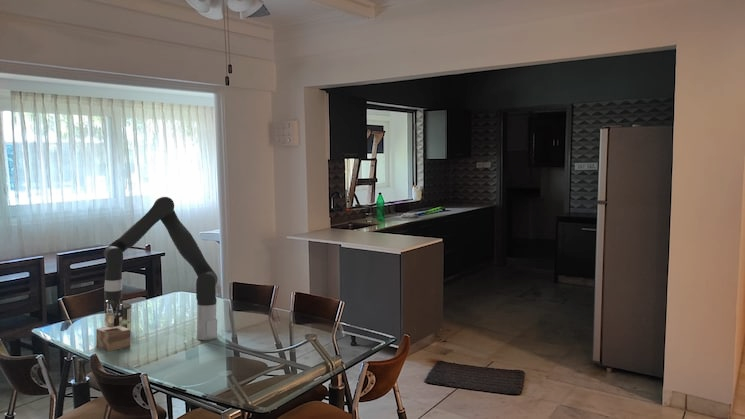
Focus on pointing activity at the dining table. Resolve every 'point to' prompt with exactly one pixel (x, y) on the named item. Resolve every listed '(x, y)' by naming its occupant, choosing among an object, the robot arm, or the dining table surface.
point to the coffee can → (126, 315)
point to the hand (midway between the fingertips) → (113, 324)
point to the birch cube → (111, 320)
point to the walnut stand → (113, 338)
